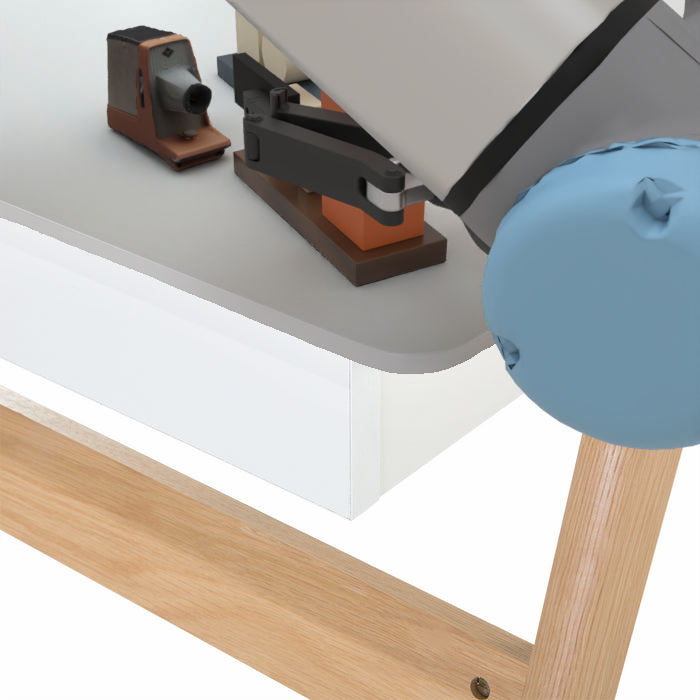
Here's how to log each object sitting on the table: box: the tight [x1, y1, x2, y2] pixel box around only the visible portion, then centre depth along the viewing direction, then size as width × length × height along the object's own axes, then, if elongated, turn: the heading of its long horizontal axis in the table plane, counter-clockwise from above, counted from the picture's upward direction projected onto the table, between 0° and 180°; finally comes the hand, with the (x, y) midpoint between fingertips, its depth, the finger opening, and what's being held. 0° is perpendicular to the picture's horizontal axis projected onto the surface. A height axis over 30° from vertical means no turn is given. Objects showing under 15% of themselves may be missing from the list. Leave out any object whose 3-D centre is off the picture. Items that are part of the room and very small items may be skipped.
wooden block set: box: [216, 9, 321, 101], centre depth 88 cm, size 16×6×6 cm, turn 29°
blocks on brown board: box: [232, 84, 448, 287], centre depth 75 cm, size 16×6×6 cm, turn 29°
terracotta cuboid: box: [321, 89, 426, 251], centre depth 68 cm, size 5×4×15 cm
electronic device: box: [105, 24, 232, 171], centre depth 82 cm, size 4×10×8 cm, turn 39°
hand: (342, 56), depth 69 cm, fingers open, 12 cm apart
